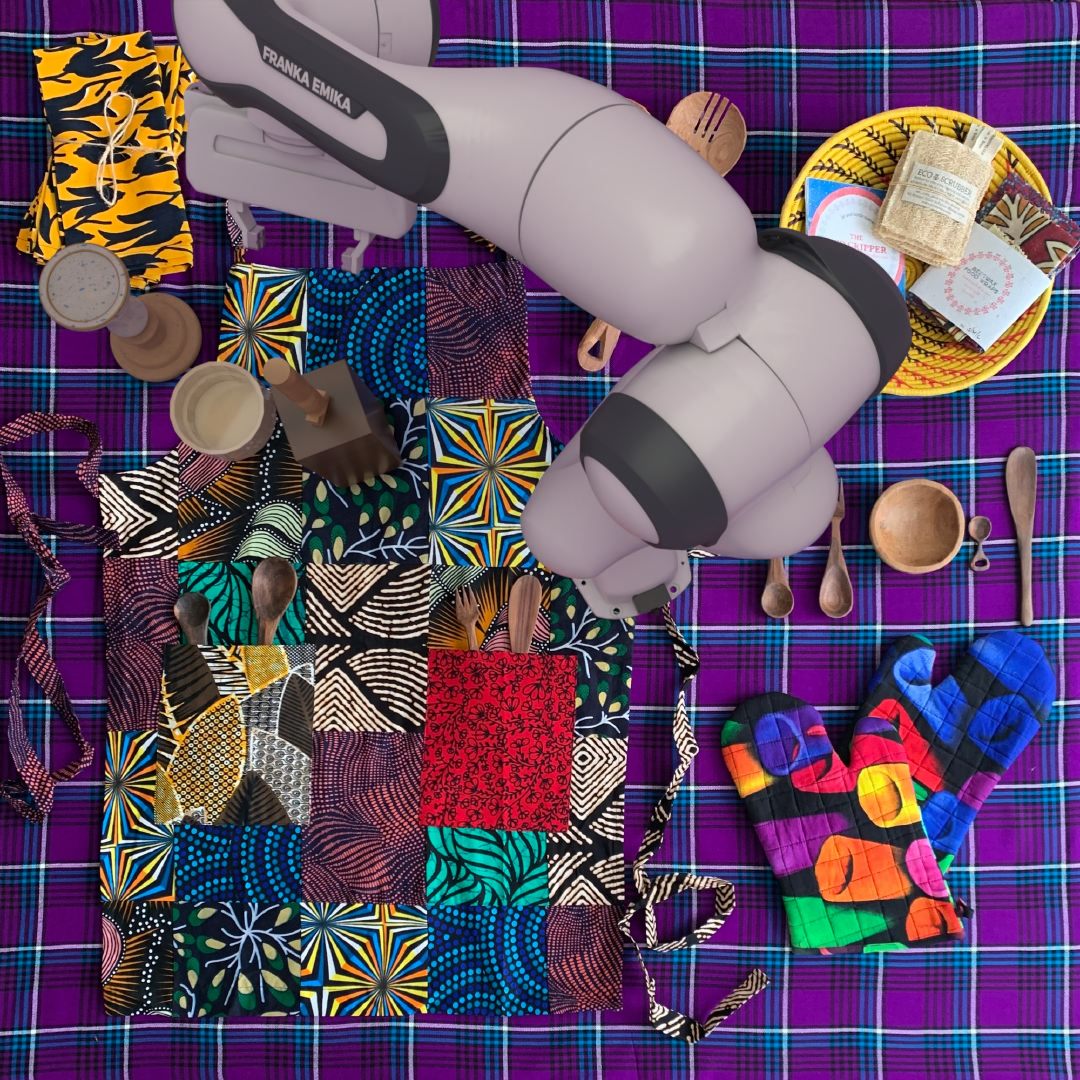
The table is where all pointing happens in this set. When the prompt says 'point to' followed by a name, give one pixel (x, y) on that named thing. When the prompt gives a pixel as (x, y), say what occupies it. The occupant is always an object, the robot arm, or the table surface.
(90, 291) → the candle holder
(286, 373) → the stick
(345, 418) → the stand
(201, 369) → the bowl
